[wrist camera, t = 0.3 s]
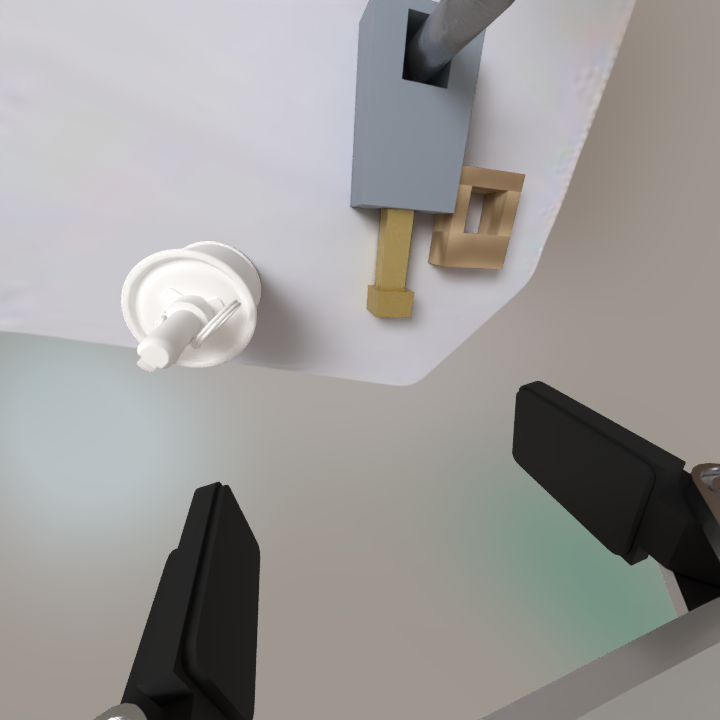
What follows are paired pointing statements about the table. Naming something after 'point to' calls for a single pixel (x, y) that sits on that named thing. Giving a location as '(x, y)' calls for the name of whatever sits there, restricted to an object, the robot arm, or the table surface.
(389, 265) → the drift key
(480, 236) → the tan slotted block
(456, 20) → the metal cylinder rod
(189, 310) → the white nozzle bottle
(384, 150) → the socket block
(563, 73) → the table surface
